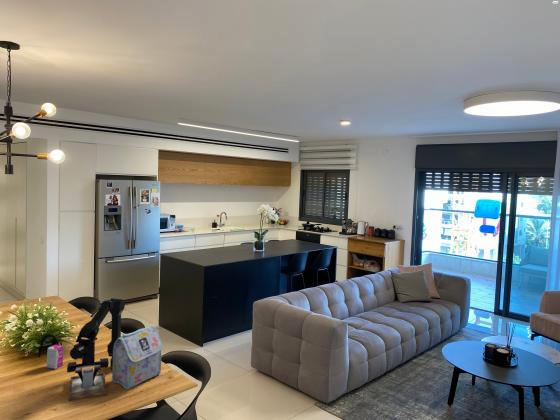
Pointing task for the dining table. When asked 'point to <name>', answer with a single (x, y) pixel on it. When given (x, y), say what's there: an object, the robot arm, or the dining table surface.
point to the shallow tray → (87, 388)
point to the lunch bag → (136, 357)
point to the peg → (87, 378)
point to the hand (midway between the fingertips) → (87, 381)
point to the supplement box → (54, 357)
